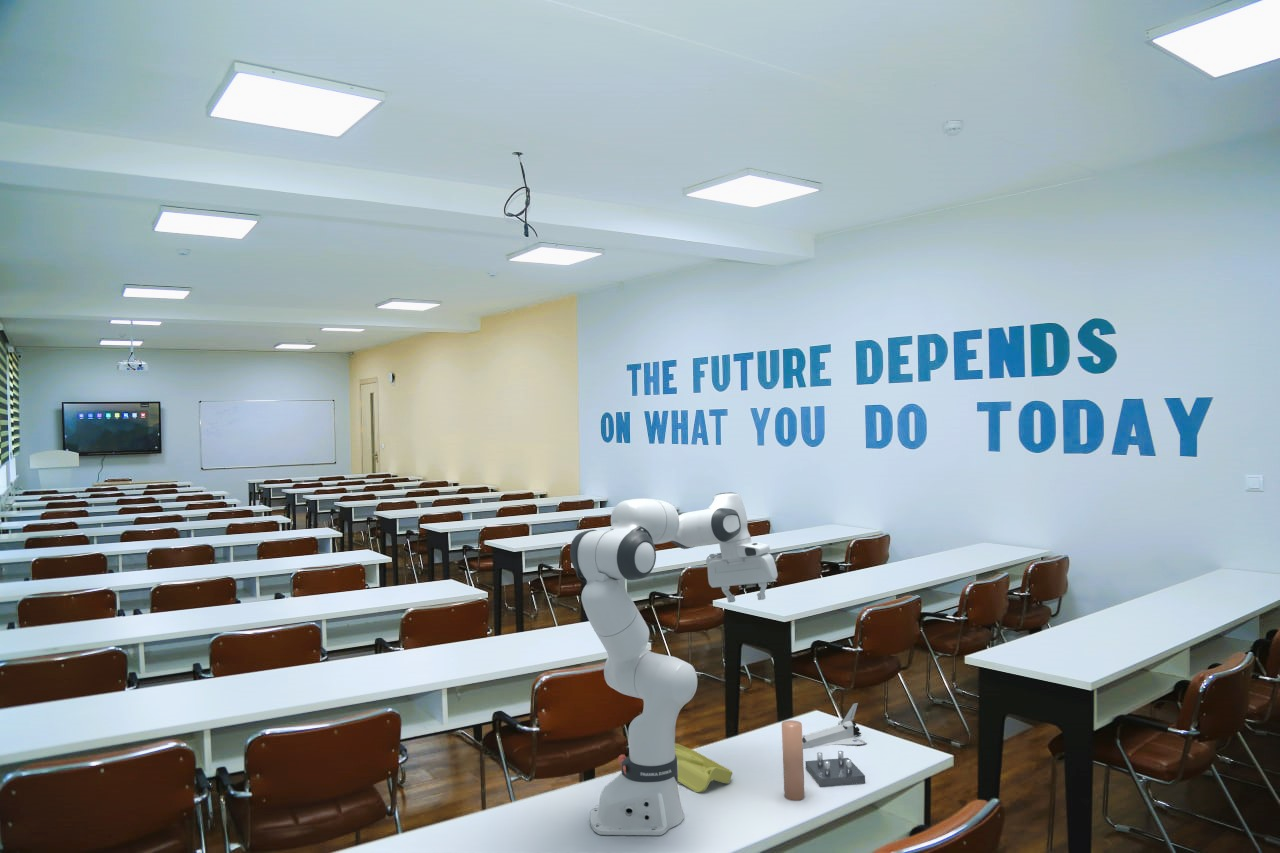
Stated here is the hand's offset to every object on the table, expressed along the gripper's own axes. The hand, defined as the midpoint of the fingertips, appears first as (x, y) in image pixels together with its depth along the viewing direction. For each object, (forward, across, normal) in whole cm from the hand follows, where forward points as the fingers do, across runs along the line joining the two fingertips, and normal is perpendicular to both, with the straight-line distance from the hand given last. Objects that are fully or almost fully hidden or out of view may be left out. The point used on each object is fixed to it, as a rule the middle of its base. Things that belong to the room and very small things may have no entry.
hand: (746, 600), depth 217 cm
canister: (+47, +9, -11) cm, 49 cm away
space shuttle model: (+48, +2, +27) cm, 56 cm away
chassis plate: (+49, +13, +5) cm, 51 cm away
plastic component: (+43, -18, -14) cm, 49 cm away
